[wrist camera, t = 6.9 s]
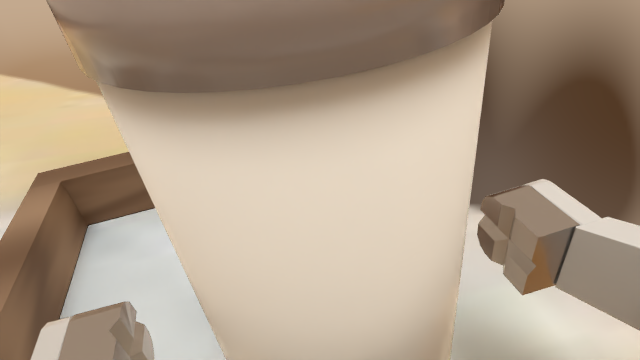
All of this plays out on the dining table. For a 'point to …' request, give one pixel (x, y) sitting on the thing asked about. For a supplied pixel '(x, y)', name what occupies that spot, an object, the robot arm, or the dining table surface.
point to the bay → (57, 242)
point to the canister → (302, 159)
